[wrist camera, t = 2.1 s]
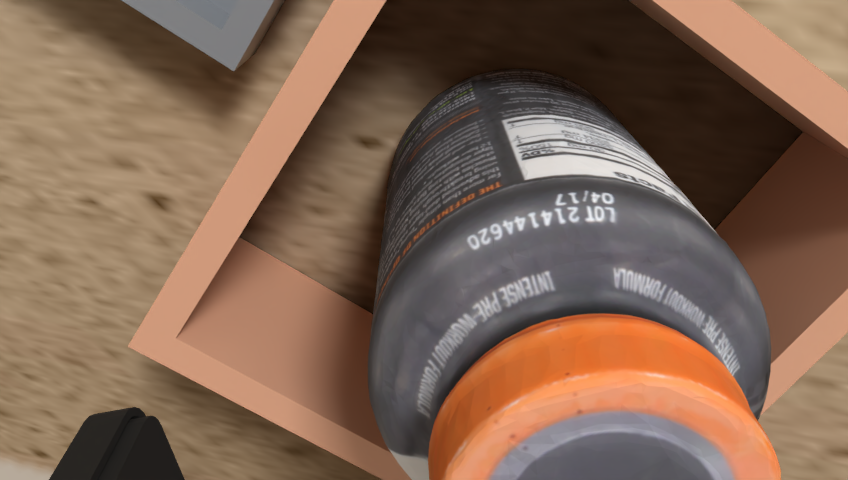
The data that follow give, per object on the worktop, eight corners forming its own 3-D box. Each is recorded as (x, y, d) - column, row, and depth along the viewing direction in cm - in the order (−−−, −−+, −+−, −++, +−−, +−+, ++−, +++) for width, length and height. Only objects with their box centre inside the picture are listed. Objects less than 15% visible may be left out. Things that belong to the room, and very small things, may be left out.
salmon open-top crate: (845, 124, 18) (986, 199, 14) (551, 442, 22) (583, 584, 17) (451, -179, 16) (460, -212, 11) (198, 241, 19) (127, 346, 15)
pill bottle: (450, 323, 20) (470, 756, 10) (347, 129, 18) (238, 429, 8) (664, 236, 19) (931, 623, 9) (580, 19, 17) (806, 198, 7)
